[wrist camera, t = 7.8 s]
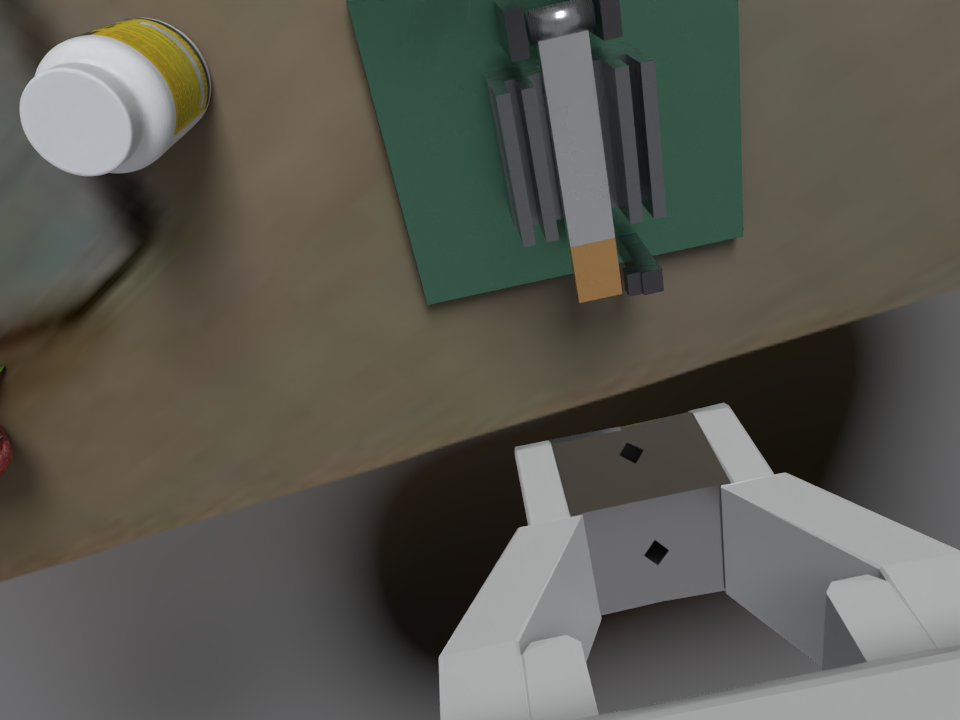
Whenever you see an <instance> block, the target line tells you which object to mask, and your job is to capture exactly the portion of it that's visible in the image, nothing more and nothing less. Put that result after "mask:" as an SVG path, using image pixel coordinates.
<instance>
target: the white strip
mask: <svg viewBox="0 0 960 720" xmlns="http://www.w3.org/2000/svg"><path fill="white" fill-rule="evenodd" d="M524 18H525V26H526V32H527V37H528V41H529V44H530V46H532V45H536V46H537V52H538V59H539V65H540V71H541V78H542V84H543V90H544V96H545V103H546V109H547V115H548V121H549V128H550V134H551V140H552V146H553V153H554V159H555V165H556V171H557V178H558V184H559V190H560V197H561V203H562V209H563V215H564V222H565V228H566V234H567V240H568V247H569V253H570V259H571V265H572V272H573V278H574V284H575V290H576V297H577V299H578V301H579V303H582V302H587V301H591V300H596V299H601V298H605V297H610V296H615V295H619V294H622V287H621V279H620V272H619V264H618V256H617V248H616V241H615V233H614V225H613V217H612V210H611V202H610V194H609V186H608V179H607V171H606V163H605V155H604V148H603V140H602V132H601V125H600V117H599V109H598V101H597V94H596V86H595V78H594V70H593V63H592V55H591V47H590V39H589V32H593V31H595V12H594V7H593V3H592V0H570V1H566V2H562V3H557V4H553V5H549V6H544V7H540V8H536V9H531V10H527V11H524Z"/></svg>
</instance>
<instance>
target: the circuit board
mask: <svg viewBox="0 0 960 720" xmlns="http://www.w3.org/2000/svg"><path fill="white" fill-rule="evenodd" d="M566 1H570V0H346V2H347V5H348V9H349V13H350V17H351V20H352V24H353V28H354V32H355V35H356V39H357V43H358V47H359V50H360V54H361V58H362V62H363V65H364V69H365V73H366V77H367V80H368V84H369V88H370V92H371V95H372V99H373V103H374V107H375V110H376V114H377V118H378V122H379V125H380V129H381V133H382V137H383V140H384V144H385V148H386V152H387V155H388V159H389V163H390V167H391V170H392V174H393V178H394V182H395V185H396V189H397V193H398V197H399V200H400V204H401V208H402V212H403V215H404V219H405V223H406V227H407V230H408V234H409V238H410V241H411V245H412V249H413V253H414V256H415V260H416V264H417V268H418V271H419V275H420V279H421V283H422V286H423V290H424V294H425V298H426V301H427V305H430V304H435V303H439V302H444V301H448V300H453V299H458V298H462V297H467V296H471V295H476V294H481V293H485V292H490V291H494V290H499V289H504V288H508V287H513V286H517V285H522V284H527V283H531V282H536V281H540V280H545V279H549V278H554V277H559V276H563V275H568V274H572V273H573V272H572V265H571V259H570V253H569V247H568V240H567V234H566V228H565V222H564V215H563V209H562V203H561V197H560V190H559V184H558V178H557V171H556V165H555V159H554V153H553V146H552V140H551V134H550V128H549V121H548V115H547V109H546V103H545V96H544V90H543V84H542V78H541V71H540V65H539V59H538V52H537V46H536V45H532V46H530V44H529V41H528V37H527V32H526V26H525V18H524V11H527V10H531V9H536V8H540V7H544V6H549V5H553V4H557V3H562V2H566ZM592 3H593V7H594V12H595V31H593V32H589V39H590V47H591V55H592V63H593V70H594V78H595V86H596V94H597V101H598V109H599V117H600V125H601V132H602V140H603V148H604V155H605V163H606V171H607V179H608V186H609V194H610V202H611V210H612V217H613V225H614V233H615V241H616V248H617V256H618V263H623V262H624V263H625V265H626V267H627V268H623V273H624V282H625V290H626V292H627V293H628V295H629V296H634V295H638V294H644V295H647V294H652V293H656V292H661V291H664V288H663V276H662V269H661V267H660V266H659V264H658V263H657V262H656V260H655V259H654V257H653V256H655V255H660V254H664V253H669V252H674V251H678V250H683V249H687V248H692V247H697V246H701V245H706V244H710V243H715V242H720V241H724V240H729V239H733V238H738V237H742V236H743V210H742V164H741V119H740V73H739V28H738V0H592Z"/></svg>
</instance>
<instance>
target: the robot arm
mask: <svg viewBox="0 0 960 720" xmlns="http://www.w3.org/2000/svg"><path fill="white" fill-rule="evenodd" d="M515 457H516V462H517V468H518V473H519V479H520V484H521V489H522V494H523V500H524V505H525V510H526V515H527V521H528V526H525V527H520V528H518V529H517V531H516V533H515V534H514V536H513V537H512V539H511V541H510V542H509V544H508V546H507V547H506V549H505V550H504V552H503V553H502V555H501V557H500V558H499V560H498V562H497V563H496V565H495V566H494V568H493V570H492V571H491V573H490V575H489V576H488V578H487V580H486V581H485V583H484V584H483V586H482V588H481V589H480V591H479V593H478V594H477V596H476V597H475V599H474V601H473V602H472V604H471V606H470V607H469V609H468V611H467V612H466V614H465V615H464V617H463V619H462V620H461V622H460V624H459V625H458V627H457V629H456V630H455V632H454V633H453V635H452V637H451V638H450V640H449V641H448V643H447V645H446V646H445V648H444V650H443V651H442V653H441V654H440V656H439V681H440V683H439V684H440V719H441V720H960V551H959V550H957V549H955V548H952V547H950V546H948V545H946V544H943V543H941V542H939V541H937V540H935V539H932V538H930V537H928V536H926V535H923V534H921V533H919V532H917V531H914V530H912V529H910V528H908V527H906V526H903V525H901V524H899V523H897V522H895V521H892V520H890V519H888V518H886V517H883V516H881V515H879V514H877V513H874V512H872V511H870V510H868V509H865V508H863V507H861V506H859V505H857V504H854V503H852V502H850V501H848V500H845V499H843V498H841V497H838V496H837V495H834V494H832V493H830V492H827V491H825V490H823V489H821V488H819V487H816V486H814V485H812V484H810V483H808V482H805V481H803V480H801V479H799V478H796V477H794V476H792V475H790V474H788V473H781V474H776V475H774V473H773V471H772V470H771V468H770V467H769V465H768V464H767V462H766V461H765V460H764V458H763V456H762V455H761V453H760V452H759V450H758V449H757V447H756V446H755V444H754V443H753V442H752V440H751V438H750V437H749V435H748V434H747V432H746V431H745V429H744V428H743V426H742V425H741V423H740V422H739V420H738V419H737V417H736V416H735V414H734V413H733V411H732V410H731V408H730V406H728V405H726V404H725V403H721V404H717V405H713V406H708V407H704V408H700V409H696V410H692V411H689V412H688V413H684V414H679V415H674V416H670V417H665V418H661V419H656V420H651V421H647V422H643V423H637V424H633V425H628V426H624V427H616V428H611V429H605V430H600V431H595V432H590V433H584V434H579V435H573V436H569V437H563V438H558V439H552V440H551V443H550V442H549V441H544V442H538V443H533V444H528V445H523V446H519V447H515ZM724 590H726V594H728V595H729V596H730V597H731V598H733V599H734V600H735V601H737V602H738V603H739V604H741V605H742V606H743V607H745V608H746V609H747V610H748V611H750V612H751V613H752V614H754V615H755V616H756V617H758V618H759V619H760V620H762V621H763V622H764V623H765V624H767V625H768V626H769V627H771V628H772V629H773V630H774V631H776V632H777V633H778V634H780V635H781V636H782V637H784V638H785V639H787V640H788V641H789V642H790V643H791V644H793V645H794V646H795V647H797V648H798V649H799V650H801V651H802V652H803V653H805V654H806V655H807V656H808V657H810V658H811V659H812V660H814V661H815V662H816V663H818V664H819V665H820V666H822V671H819V672H813V673H808V674H803V675H798V676H793V677H788V678H783V679H778V680H773V681H768V682H763V683H758V684H752V685H748V686H742V687H737V688H732V689H727V690H722V691H717V692H712V693H707V694H702V695H697V696H692V697H687V698H681V699H677V700H672V701H666V702H661V703H656V704H651V705H647V706H641V707H636V708H631V709H626V710H621V711H616V712H611V713H605V714H601V715H599V714H598V710H597V706H596V702H595V698H594V694H593V689H592V686H591V681H590V677H589V673H588V669H587V665H586V661H587V658H588V655H589V652H590V650H591V647H592V644H593V641H594V638H595V636H596V633H597V630H598V627H599V624H600V622H601V615H604V614H609V613H613V612H617V611H622V610H626V609H630V608H635V607H639V606H644V605H648V604H652V603H657V602H661V601H667V600H672V599H678V598H684V597H690V596H696V595H701V594H707V593H713V592H719V591H724Z"/></svg>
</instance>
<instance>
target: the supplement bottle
mask: <svg viewBox="0 0 960 720" xmlns="http://www.w3.org/2000/svg"><path fill="white" fill-rule="evenodd" d="M210 97H211V78H210V73H209V70H208V67H207V64H206V62H205V60H204V58H203V56H202V54H201V53H200V51H199V50H198V48H197V47H196V45H195V44H194V43H193V42H192V41H191V40H190V39H189V38H188V37H187V36H186V35H185V34H184V33H182V32H181V31H179V30H178V29H176V28H175V27H173V26H171V25H169V24H167V23H165V22H162V21H159V20H156V19H151V18H131V19H126V20H122V21H119V22H116V23H113V24H110V25H107V26H105V27H102V28H99V29H96V30H94V31H91V32H88V33H85V34H82V35H79V36H75V37H73V38H70V39H68V40H66V41H64V42H62V43H60V44H58V45H57V46H55V47H54V48H53V49H51V50H50V51H49V52H48V53H47V54H46V55H45V57H44V58H43V59H42V61H41V62H40V64H39V66H38V68H37V70H36V73H35V77H34V78H33V79H32V80H31V81H30V82H29V83H28V84H27V86H26V88H25V89H24V91H23V94H22V96H21V100H20V119H21V124H22V127H23V130H24V132H25V134H26V136H27V138H28V140H29V142H30V143H31V144H32V146H33V147H34V148H35V150H36V151H37V152H38V153H39V154H40V155H41V156H42V157H43V158H44V159H46V160H47V161H48V162H49V163H51V164H52V165H54V166H56V167H57V168H59V169H61V170H63V171H65V172H68V173H71V174H75V175H81V176H98V175H103V174H106V173H128V172H133V171H137V170H140V169H142V168H145V167H146V166H148V165H150V164H151V163H153V162H154V161H156V160H157V159H158V158H160V157H161V156H162V155H163V154H164V153H165V152H166V151H167V150H168V149H169V148H171V147H172V146H173V145H174V144H175V143H176V142H177V141H178V140H179V139H180V138H181V137H182V136H184V135H185V134H186V133H187V132H188V131H189V130H190V129H192V128H193V127H194V126H195V125H196V123H197V122H198V121H199V120H200V119H201V118H202V116H203V115H204V113H205V111H206V110H207V107H208V104H209V101H210Z"/></svg>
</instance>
